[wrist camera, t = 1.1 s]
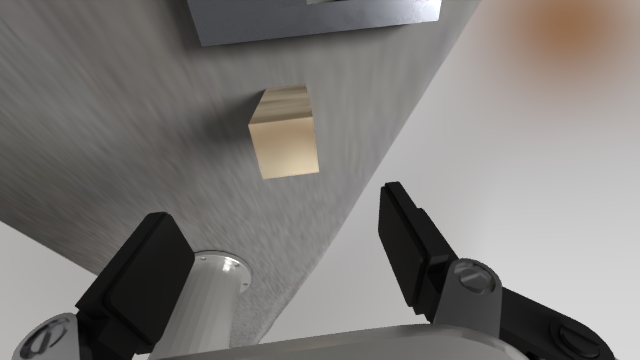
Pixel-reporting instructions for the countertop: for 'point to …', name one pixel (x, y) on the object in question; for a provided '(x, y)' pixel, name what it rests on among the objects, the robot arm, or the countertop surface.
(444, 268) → the robot arm
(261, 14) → the rail
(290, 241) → the countertop surface
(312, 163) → the peg
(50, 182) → the countertop surface
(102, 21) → the countertop surface
